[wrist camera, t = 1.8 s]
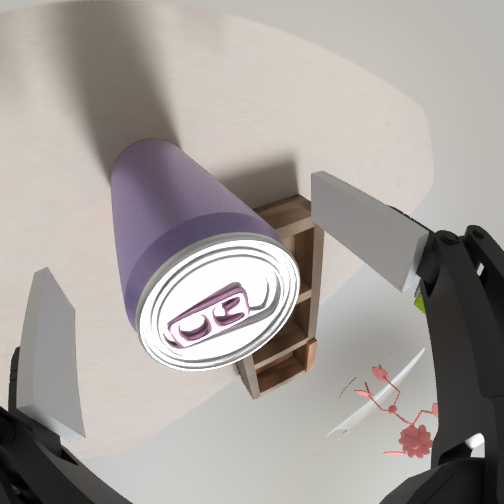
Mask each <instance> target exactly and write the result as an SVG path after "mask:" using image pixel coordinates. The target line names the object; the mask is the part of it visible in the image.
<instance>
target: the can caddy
mask: <svg viewBox="0 0 504 504" xmlns="http://www.w3.org/2000/svg"><path fill="white" fill-rule="evenodd" d="M253 211H254V212H255V213H256V214H258V215H259V216H260V217H261V218H262V219H263V220H264V221H266V222H267V223H268V224H269V225H270V226H271V227H272V228H273V229H274V230H275V231H276V232H277V233H278V234H279V236H280V237H281V239H282V241H283V243H284V245H285V247H286V249H287V250H288V251H289V252H290V253H291V254H292V256H293V257H294V259H295V261H296V263H297V265H298V268H299V272H300V291H299V295H298V299H297V302H296V304H295V307H294V309H293V311H292V313H291V314H290V316H289V318H288V319H287V321H286V322H285V324H284V325H283V326H282V327H281V329H280V330H279V331H278V332H277V333H276V334H275V335H274V336H273V337H272V338H271V339H270V340H269V341H268V342H267V343H265V344H264V345H263V346H262V347H260V348H259V349H257V350H256V351H254V352H253V353H251V354H250V355H248V356H246V357H244V358H242V359H240V360H238V361H236V362H237V366H238V369H239V372H240V375H241V379H242V381H243V383H244V384H245V386H246V388H247V390H248V391H249V393H250V395H251V396H252V398H253V399H257V398H259V397H261V396H263V395H265V394H267V393H268V392H271V391H272V390H274V389H276V388H278V387H280V386H282V385H284V384H286V383H288V382H289V381H291V380H293V379H295V378H297V377H298V376H300V375H302V374H304V373H306V372H307V371H309V370H311V369H313V367H314V360H315V354H316V347H317V340H316V339H315V334H316V325H317V316H318V307H319V296H320V285H321V273H322V260H323V244H324V230H323V229H322V228H321V227H319V226H318V225H317V224H315V223H314V222H313V221H311V202H310V201H309V200H307V199H306V198H304V197H303V196H301V195H299V194H298V195H295V196H292V197H289V198H286V199H283V200H280V201H277V202H274V203H271V204H268V205H265V206H262V207H259V208H256V209H253Z"/></svg>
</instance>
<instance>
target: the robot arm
mask: <svg viewBox="0 0 504 504" xmlns="http://www.w3.org/2000/svg"><path fill="white" fill-rule="evenodd" d="M311 221H313V222H314V223H315V224H317V225H318V226H319V227H321V228H322V229H323V230H325V231H326V232H327V233H329V234H330V235H331V236H332V237H334V238H335V239H336V240H338V241H339V242H340V243H341V244H343V245H344V246H345V247H347V248H348V249H349V250H350V251H352V252H353V253H354V254H355V255H357V256H358V257H359V258H360V259H362V260H363V261H364V262H365V263H367V264H368V265H369V266H370V267H372V268H373V269H374V270H375V271H376V272H378V273H379V274H380V275H381V276H382V277H384V278H385V279H386V280H387V281H388V282H390V283H391V284H392V285H393V286H394V287H396V288H397V289H398V290H399V291H400V292H404V291H405V290H407V289H408V288H409V287H411V286H412V285H413V282H414V279H415V276H416V274H417V275H418V276H419V277H421V279H420V281H419V284H418V287H417V289H416V292H415V298H417V296H418V294H419V292H420V291H421V296H420V298H422V299H423V303H424V308H425V313H426V317H427V323H428V328H429V334H430V340H431V346H432V353H433V360H434V368H435V377H436V388H437V401H438V422H439V427H438V432H437V434H436V436H435V438H434V441H433V444H432V453H431V454H432V455H431V469H430V470H428V471H426V472H423V473H421V474H418V475H416V476H413V477H410V478H408V479H407V480H405V481H404V482H403V483H402V484H401V485H399V486H398V487H397V488H396V489H394V490H393V491H392V492H391V493H389V494H388V495H387V496H386V497H385V498H384V499H383V500H382V501H381V502H380V504H504V251H503V250H502V249H501V248H500V246H499V245H498V244H497V243H496V242H495V240H494V239H493V238H492V237H491V236H490V235H489V234H488V233H487V232H486V231H485V230H484V229H483V228H481V227H480V226H476V225H469V226H468V227H467V229H466V232H465V235H464V236H459V237H458V236H457V235H455V234H454V233H452V232H450V231H445V230H440V231H437V232H436V233H434V232H433V231H431V230H430V229H428V228H427V227H425V226H424V225H422V224H420V223H419V222H417V221H416V220H414V219H413V218H410V217H409V216H408V215H406V214H403V212H401V211H399V210H398V209H396V208H394V207H392V206H389V205H386V204H384V203H382V202H380V201H379V200H377V199H375V198H373V197H372V196H370V195H368V194H366V193H365V192H363V191H361V190H359V189H357V188H355V187H354V186H352V185H350V184H348V183H346V182H344V181H342V180H340V179H338V178H336V177H335V176H333V175H331V174H329V173H327V172H325V171H320V172H316V173H312V174H311ZM480 263H482V264H483V266H484V269H483V271H482V273H481V275H480V276H479V275H478V274H477V270H478V268H479V265H480ZM10 371H11V373H10V383H9V400H8V411H6V410H5V409H4V408H2V407H1V406H0V504H132V503H131V502H130V501H128V500H127V499H126V498H124V497H123V496H121V495H120V494H119V493H117V492H116V491H115V490H113V489H112V488H111V487H109V486H108V485H107V484H106V483H104V482H103V481H102V480H101V479H100V478H98V477H97V476H96V475H95V474H93V473H92V472H91V471H90V470H89V469H88V468H87V467H85V466H84V465H83V464H82V463H81V462H80V461H79V460H78V459H77V458H76V457H75V456H74V455H73V454H72V453H71V452H70V451H69V450H68V449H67V448H65V447H64V446H62V445H61V443H60V437H62V438H64V439H65V440H67V441H69V442H71V441H76V440H80V439H85V438H86V437H85V431H84V426H83V420H82V413H81V406H80V398H79V389H78V379H77V365H76V345H75V309H74V308H73V306H72V305H71V303H70V302H69V300H68V299H67V297H66V296H65V294H64V293H63V291H62V290H61V288H60V286H59V285H58V283H57V282H56V280H55V278H54V277H53V275H52V273H51V272H50V270H49V268H48V267H46V268H44V269H42V270H39V271H37V272H35V274H34V277H33V281H32V285H31V289H30V294H29V298H28V303H27V308H26V313H25V319H24V324H23V331H22V337H21V345H20V347H17V348H16V349H15V352H14V354H13V357H12V359H11V369H10ZM483 442H485V458H479V457H470V456H471V452H472V450H473V449H474V448H475V447H476V446H478V445H479V444H481V443H483ZM12 487H14V488H16V490H17V493H18V494H15V492H14V490H13V488H12Z"/></svg>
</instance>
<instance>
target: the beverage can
mask: <svg viewBox="0 0 504 504" xmlns="http://www.w3.org/2000/svg"><path fill="white" fill-rule="evenodd" d="M111 198H112V213H113V225H114V235H115V244H116V252H117V260H118V267H119V274H120V280H121V286H122V292H123V298H124V303H125V309H126V313H127V316H128V319H129V321H130V323H131V325H132V327H133V328H134V330H135V331H136V332H137V335H138V338H139V341H140V343H141V345H142V346H143V348H144V349H145V351H146V352H147V353H148V354H149V355H150V356H151V357H152V358H153V359H154V360H156V361H157V362H159V363H161V364H163V365H165V366H167V367H170V368H173V369H177V370H184V371H203V370H210V369H215V368H219V367H222V366H226V365H229V364H231V363H234V362H236V361H238V360H240V359H242V358H244V357H246V356H248V355H250V354H251V353H253V352H254V351H256V350H257V349H259V348H260V347H262V346H263V345H264V344H265V343H267V342H268V341H269V340H270V339H271V338H272V337H273V336H274V335H275V334H276V333H277V332H278V331H279V330H280V329H281V327H282V326H283V325H284V324H285V322H286V321H287V319H288V318H289V316H290V314H291V313H292V311H293V309H294V307H295V304H296V302H297V299H298V295H299V291H300V272H299V268H298V265H297V263H296V261H295V259H294V257H293V256H292V254H291V253H290V252H289V251H288V250H287V249H286V247H285V245H284V243H283V241H282V239H281V237H280V236H279V234H278V233H277V232H276V231H275V230H274V229H273V228H272V227H271V226H270V225H269V224H268V223H267V222H266V221H264V220H263V219H262V218H261V217H260V216H259V215H258V214H256V213H255V212H254V211H253V210H252V209H251V208H249V207H248V206H247V205H246V204H245V203H244V202H243V201H241V200H240V199H239V198H238V197H237V196H236V195H234V194H233V193H232V192H231V191H230V190H229V189H227V188H226V187H225V186H224V185H223V184H222V183H220V182H219V181H218V180H217V179H216V178H214V177H213V176H212V175H211V174H210V173H208V172H207V171H206V170H205V169H204V168H203V167H201V166H200V165H199V164H198V163H197V162H195V161H194V160H193V159H192V158H190V157H189V156H188V155H187V154H186V153H184V152H183V151H182V150H181V149H180V148H178V147H177V146H176V145H174V144H173V143H171V142H169V141H166V140H163V139H156V138H151V139H145V140H141V141H138V142H136V143H134V144H132V145H131V146H129V147H128V148H126V149H125V150H124V151H123V152H122V153H121V154H120V156H119V157H118V159H117V160H116V162H115V164H114V166H113V169H112V173H111Z"/></svg>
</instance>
